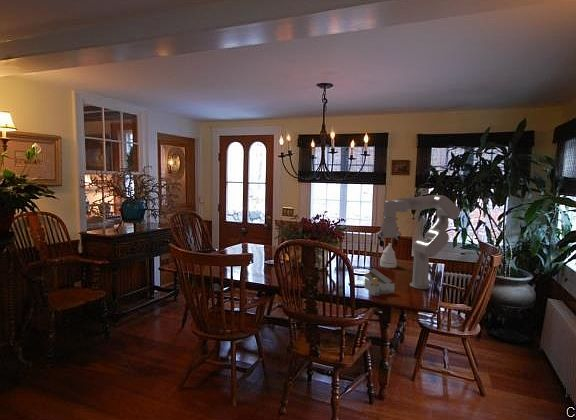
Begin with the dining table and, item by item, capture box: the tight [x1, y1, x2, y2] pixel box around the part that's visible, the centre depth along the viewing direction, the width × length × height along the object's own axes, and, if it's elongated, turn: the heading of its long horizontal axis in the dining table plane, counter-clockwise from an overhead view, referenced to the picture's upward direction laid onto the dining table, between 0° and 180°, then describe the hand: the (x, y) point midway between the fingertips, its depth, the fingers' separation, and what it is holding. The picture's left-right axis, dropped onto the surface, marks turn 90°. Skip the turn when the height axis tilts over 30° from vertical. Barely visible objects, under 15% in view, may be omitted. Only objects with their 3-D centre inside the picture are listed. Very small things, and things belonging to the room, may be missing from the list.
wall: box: [363, 267, 392, 284], centre depth 249 cm, size 16×9×15 cm
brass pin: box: [372, 278, 378, 286], centre depth 229 cm, size 3×3×10 cm
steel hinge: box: [364, 277, 396, 297], centre depth 235 cm, size 17×17×6 cm
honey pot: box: [379, 243, 398, 269], centre depth 301 cm, size 13×13×18 cm
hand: (388, 246), depth 237 cm, fingers open, 9 cm apart
